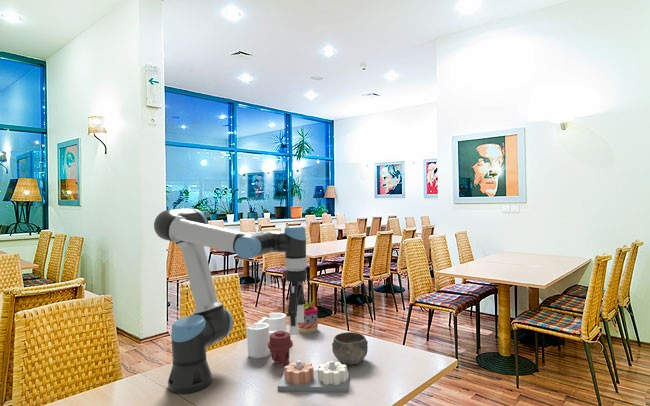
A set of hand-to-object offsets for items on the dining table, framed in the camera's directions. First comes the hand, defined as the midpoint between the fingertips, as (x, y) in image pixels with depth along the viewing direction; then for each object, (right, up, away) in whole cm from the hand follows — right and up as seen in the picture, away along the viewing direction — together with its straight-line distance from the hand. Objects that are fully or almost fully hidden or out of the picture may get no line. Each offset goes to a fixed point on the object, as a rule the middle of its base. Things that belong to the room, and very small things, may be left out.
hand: (297, 328), depth 144 cm
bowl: (+20, -19, +17) cm, 33 cm away
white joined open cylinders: (-15, -20, +36) cm, 44 cm away
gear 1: (+1, -18, 0) cm, 18 cm away
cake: (+1, -19, +57) cm, 60 cm away
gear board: (+6, -19, 0) cm, 20 cm away
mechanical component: (-8, -20, +18) cm, 28 cm away
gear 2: (+13, -18, -1) cm, 22 cm away
